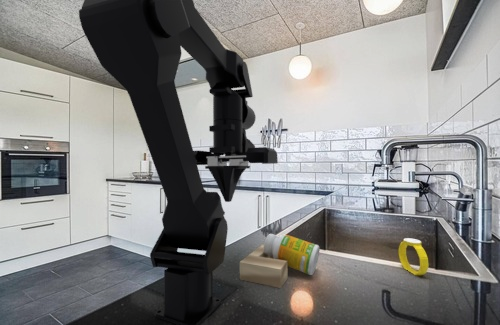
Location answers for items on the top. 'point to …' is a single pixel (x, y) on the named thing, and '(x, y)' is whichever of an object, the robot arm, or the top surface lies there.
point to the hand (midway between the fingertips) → (228, 201)
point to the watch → (421, 254)
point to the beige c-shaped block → (263, 269)
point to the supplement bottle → (293, 252)
